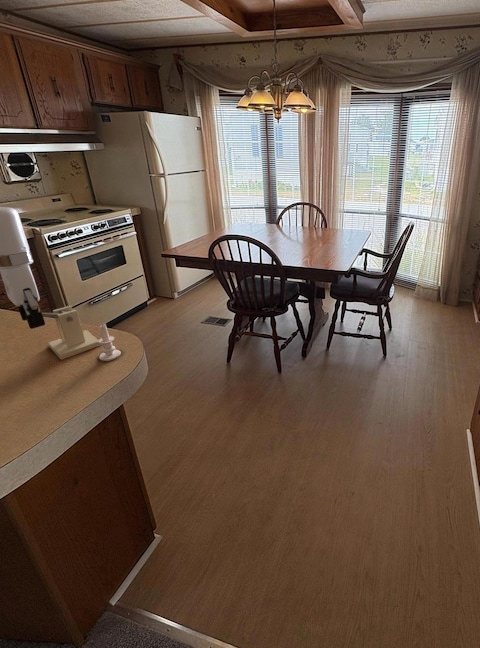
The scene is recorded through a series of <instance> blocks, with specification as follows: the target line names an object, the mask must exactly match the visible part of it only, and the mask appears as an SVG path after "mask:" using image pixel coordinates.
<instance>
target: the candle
mask: <svg viewBox="0 0 480 648" xmlns="http://www.w3.org/2000/svg"><path fill="white" fill-rule="evenodd" d="M99 332H100V336H101V338H99V339H98V342H99V343H100V345H102V349H101V352H102V353H100V354H99V356H98V358H99V360H100V361H102V362H110V361H113V360H116V359H118V358H119V357H120V356H121V355H122V354H121V353H122V352H121V351H120V350H119V349H116V346H115V345H113V341H114V340H115V336H112V335H109V331H108V328H107V324H106V323H101V325H99Z"/></svg>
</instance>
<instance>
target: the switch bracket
mask: <svg viewBox="0 0 480 648" xmlns="http://www.w3.org/2000/svg"><path fill="white" fill-rule="evenodd" d="M60 311H69V312H65V313H62V314H58V318H59V319H58V318H54V319H55V323H56V327H57V330H58V333H59V336H60V338H57V339H55V340H51V341H48V342H47V344H48V347H49V348H50V349H51V350H52V352H53V353H54V354H55V355H56V356H57V357H58V358H59V360H64V359H67V358H70V357H73V356H75V355H78V354H80V353H83V352H85V351H90V350H91V349H94V348H98V347H100V346H101V343H99V342H98V340H99V339H98V338H97V337H96V336H94V334H92V332H90V331H89V330H88V329H86V330H83V326H82V324H81V320H80V317H79V316H80V315H79V313H78V310H77V309H73V306H72V305H67V306H64V307H60V308H56V309H53V310H52V313H60Z"/></svg>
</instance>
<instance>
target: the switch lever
mask: <svg viewBox="0 0 480 648" xmlns="http://www.w3.org/2000/svg"><path fill="white" fill-rule="evenodd" d="M41 312H42V315H43V318H54V319H55V318H58V314H62V313H65V312H69V311H60V313H53V312H45V311H44V312H43V311H41ZM24 313H25V314H26V312H24ZM26 315H27V314H26ZM58 319H59V318H58Z"/></svg>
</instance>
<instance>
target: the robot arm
mask: <svg viewBox="0 0 480 648" xmlns="http://www.w3.org/2000/svg"><path fill="white" fill-rule="evenodd" d="M33 263H34V259H33V255H32V252H31V250H30V245H29V243H28V240H27V237H26V233H25V230H24V227H23V223H22V220H21V217H20V215H19V212H18V211H17V210H16V209H15V208H13V207H9V206H0V276H1V280H2V282H3V285H4V288H5V293H6V295H7V298H8V299H9V300H10V302H11V303H13V305H15V307H17V310H18V313H19V314H20V317H21V320H22V321H27V323H28V328H29V329H30V330H32V329H36V328H40V327H44V326H45V325H46V321H45V317H43V315H42V312H43V311H42V310H41V309H40V306H39V303H38V302H39V301H40V300H41V298H40V293H39V291H38V287H37V284H36V281H35V278H34V275H33V272H32V270H31V266H30V265H31V264H33ZM24 312H26V314H27V315H26V314H25V313H24Z"/></svg>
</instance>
